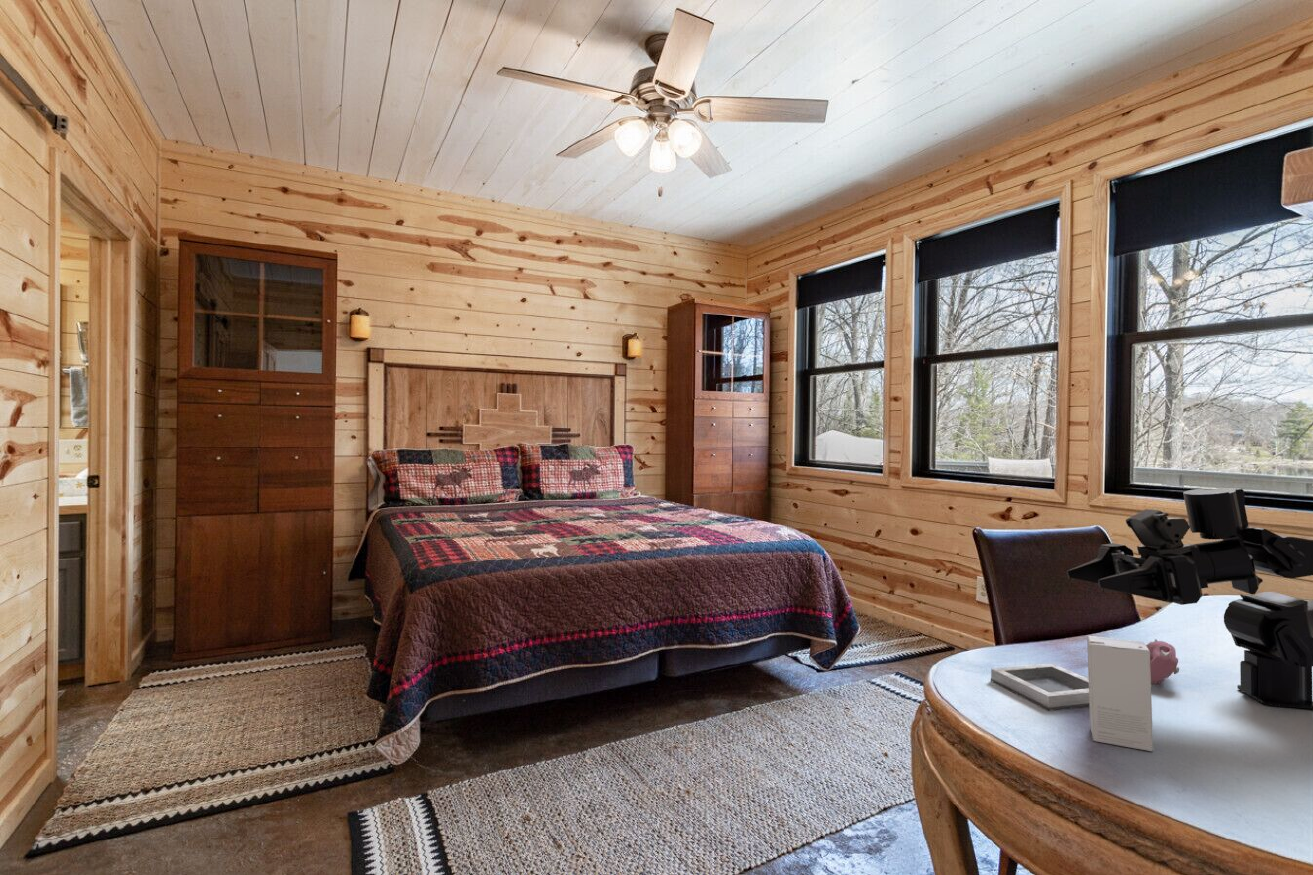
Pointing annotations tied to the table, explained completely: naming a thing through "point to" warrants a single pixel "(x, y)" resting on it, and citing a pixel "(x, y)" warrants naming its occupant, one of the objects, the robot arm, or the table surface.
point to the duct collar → (1045, 685)
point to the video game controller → (1162, 661)
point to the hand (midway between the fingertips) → (1082, 578)
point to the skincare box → (1120, 692)
